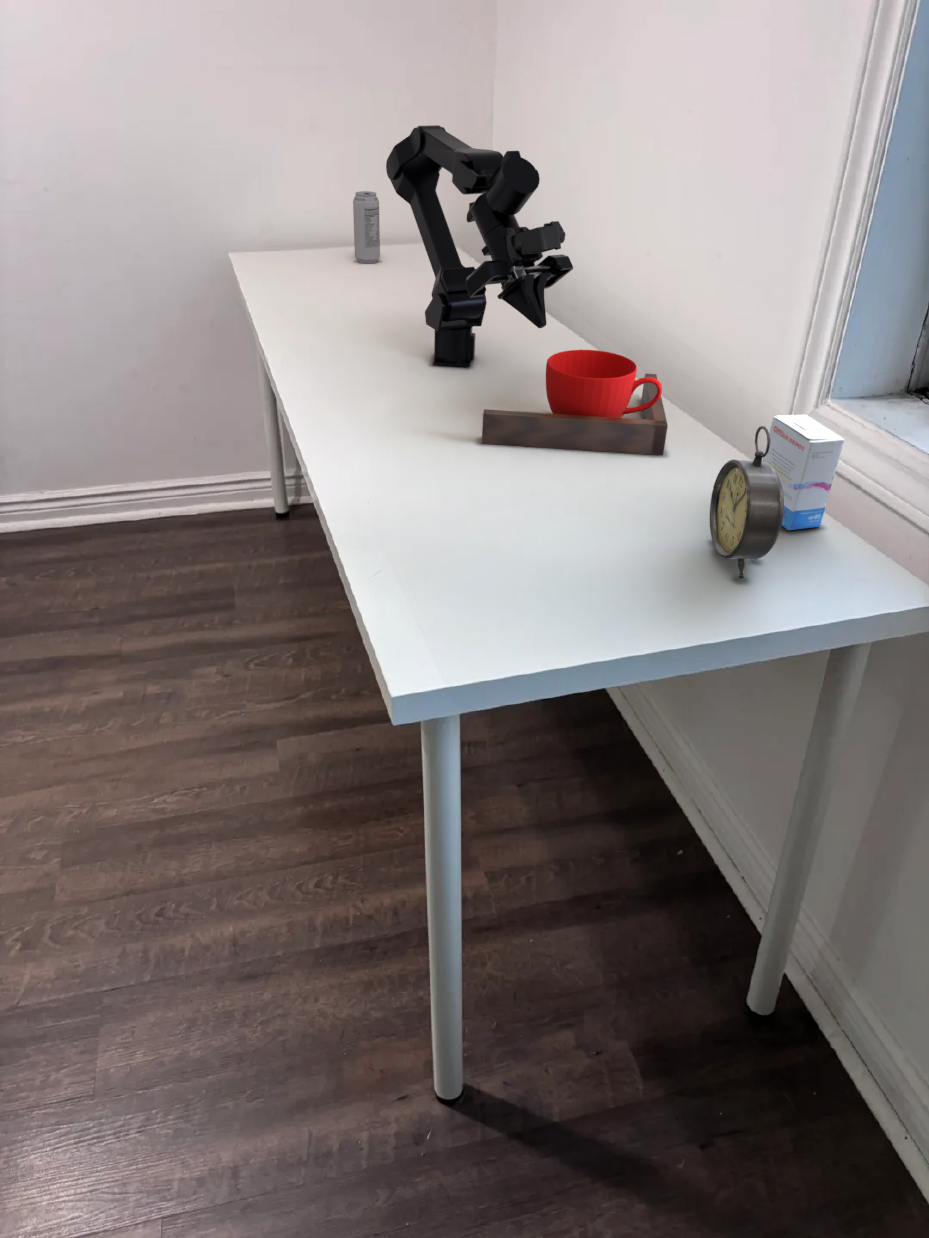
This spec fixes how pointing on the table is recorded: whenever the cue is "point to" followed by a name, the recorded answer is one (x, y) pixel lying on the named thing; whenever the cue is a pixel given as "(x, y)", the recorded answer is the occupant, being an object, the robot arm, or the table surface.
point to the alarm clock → (746, 508)
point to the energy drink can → (366, 227)
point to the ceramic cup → (593, 384)
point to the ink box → (803, 467)
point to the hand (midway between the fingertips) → (542, 326)
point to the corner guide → (581, 429)
